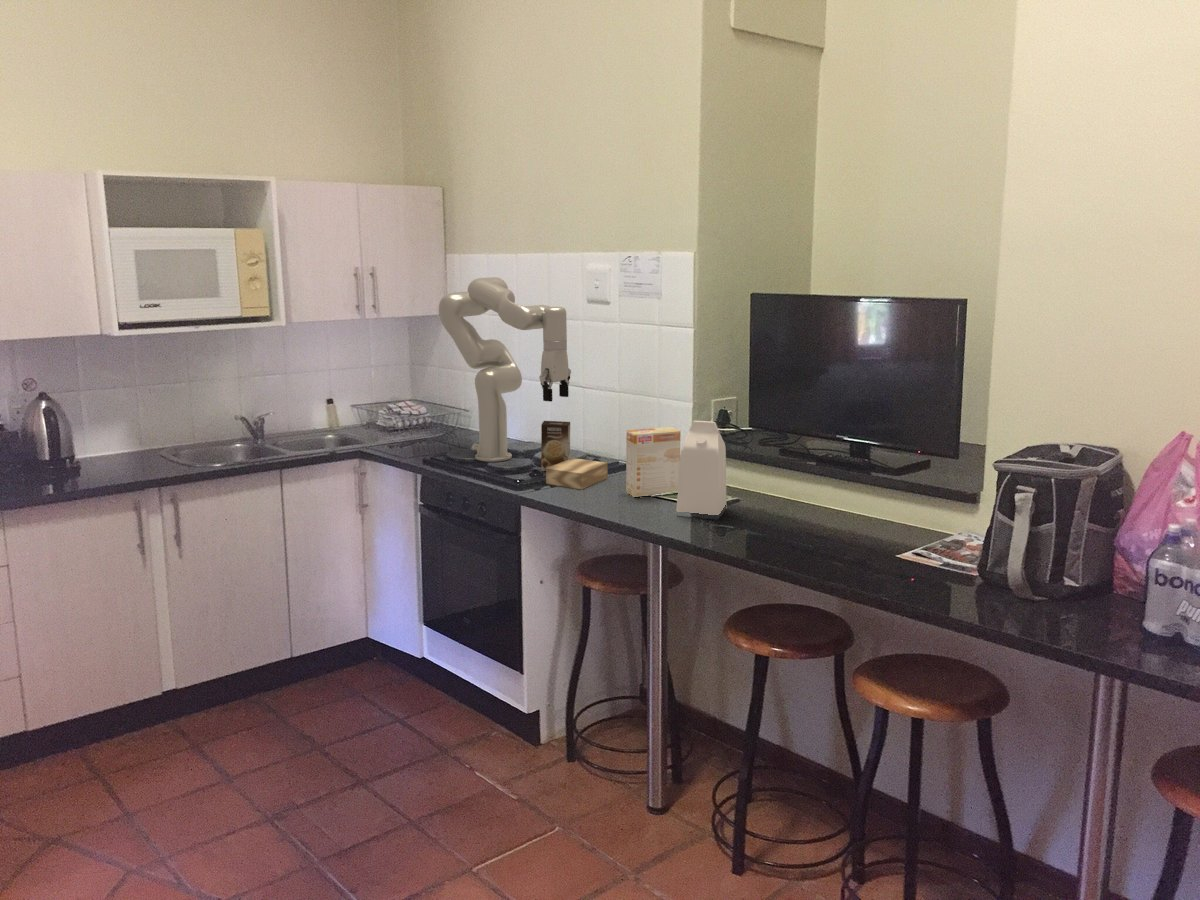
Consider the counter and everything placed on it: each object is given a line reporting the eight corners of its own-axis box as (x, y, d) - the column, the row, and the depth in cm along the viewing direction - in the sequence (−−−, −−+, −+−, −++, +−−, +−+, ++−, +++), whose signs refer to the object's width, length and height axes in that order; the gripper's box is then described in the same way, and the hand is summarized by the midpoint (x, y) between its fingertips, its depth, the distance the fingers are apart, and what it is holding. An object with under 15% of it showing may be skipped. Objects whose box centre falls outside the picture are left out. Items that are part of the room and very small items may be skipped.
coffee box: (540, 472, 315) (539, 424, 311) (543, 467, 321) (543, 420, 318) (568, 473, 314) (568, 424, 311) (570, 468, 320) (570, 421, 317)
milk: (726, 508, 275) (729, 419, 269) (718, 520, 264) (721, 426, 258) (685, 505, 278) (687, 416, 273) (675, 516, 268) (677, 424, 262)
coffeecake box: (671, 488, 296) (672, 426, 292) (680, 494, 290) (681, 430, 285) (625, 492, 291) (625, 429, 287) (633, 498, 285) (634, 433, 280)
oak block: (546, 483, 301) (545, 468, 300) (572, 472, 315) (572, 458, 313) (581, 489, 295) (581, 473, 294) (607, 478, 308) (607, 462, 307)
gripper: (559, 342, 318) (560, 394, 321) (530, 348, 303) (531, 401, 307) (579, 343, 314) (579, 395, 318) (550, 349, 299) (551, 403, 303)
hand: (556, 398), depth 312 cm, fingers open, 9 cm apart
